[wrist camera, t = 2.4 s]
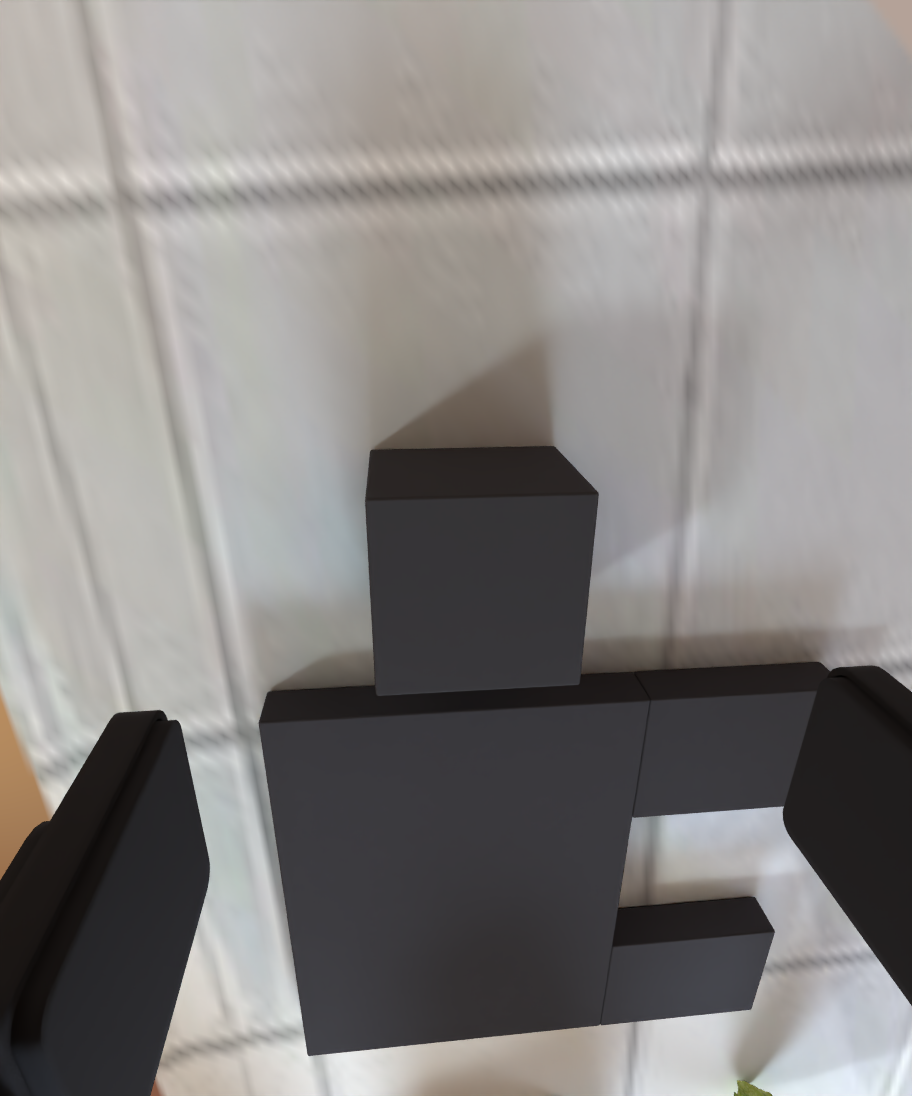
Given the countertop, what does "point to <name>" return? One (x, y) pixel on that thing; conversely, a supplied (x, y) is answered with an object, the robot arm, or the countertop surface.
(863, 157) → the countertop surface
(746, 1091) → the vegetable
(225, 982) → the countertop surface
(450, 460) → the pad piece
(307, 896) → the base pad
